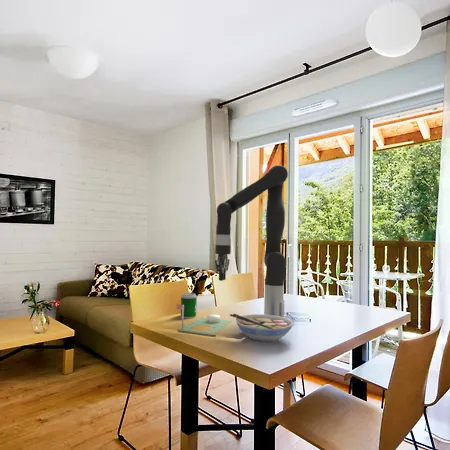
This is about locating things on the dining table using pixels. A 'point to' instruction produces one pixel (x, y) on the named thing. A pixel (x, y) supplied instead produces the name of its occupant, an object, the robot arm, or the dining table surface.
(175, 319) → the dining table surface
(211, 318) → the white dome knob
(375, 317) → the dining table surface
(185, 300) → the soda can
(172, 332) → the dining table surface
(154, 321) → the dining table surface
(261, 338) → the ramen bowl
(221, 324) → the putting board
